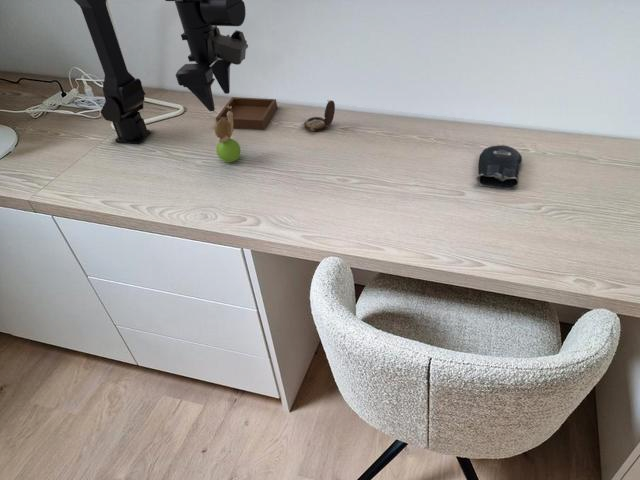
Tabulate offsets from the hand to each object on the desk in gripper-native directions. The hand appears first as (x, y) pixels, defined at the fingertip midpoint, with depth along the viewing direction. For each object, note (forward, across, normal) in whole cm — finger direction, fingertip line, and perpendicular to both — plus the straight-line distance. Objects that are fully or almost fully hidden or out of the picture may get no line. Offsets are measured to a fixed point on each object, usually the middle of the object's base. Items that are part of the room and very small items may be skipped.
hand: (219, 101), depth 107 cm
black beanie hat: (+19, +2, -61) cm, 64 cm away
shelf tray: (+13, +21, +4) cm, 26 cm away
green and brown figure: (+14, 0, +1) cm, 14 cm away
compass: (+15, +17, -16) cm, 28 cm away
